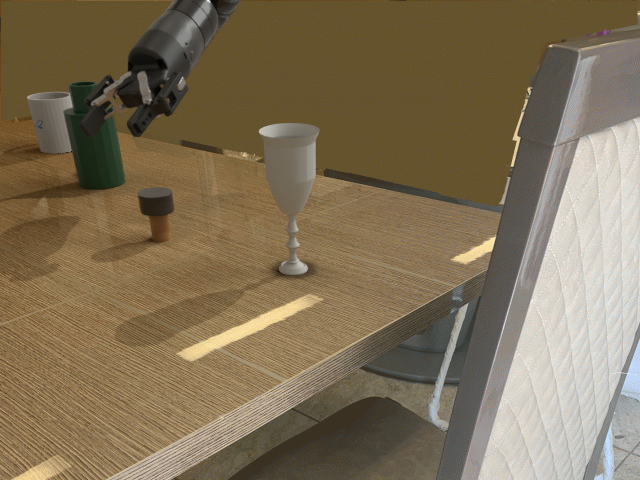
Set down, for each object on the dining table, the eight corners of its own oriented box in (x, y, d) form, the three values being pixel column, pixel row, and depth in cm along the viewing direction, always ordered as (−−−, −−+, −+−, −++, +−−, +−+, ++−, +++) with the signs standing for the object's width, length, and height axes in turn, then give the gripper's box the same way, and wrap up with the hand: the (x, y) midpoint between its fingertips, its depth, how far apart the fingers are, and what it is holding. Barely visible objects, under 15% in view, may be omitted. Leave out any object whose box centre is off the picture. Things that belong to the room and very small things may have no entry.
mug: (83, 151, 133) (72, 98, 127) (39, 155, 131) (26, 101, 125) (81, 137, 143) (70, 87, 137) (40, 141, 140) (27, 90, 134)
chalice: (275, 267, 86) (268, 121, 75) (325, 271, 85) (325, 124, 74) (260, 291, 80) (250, 136, 69) (313, 295, 79) (312, 140, 68)
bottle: (75, 189, 113) (52, 88, 103) (85, 176, 119) (64, 80, 109) (121, 188, 113) (102, 87, 104) (128, 175, 120) (111, 79, 110)
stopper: (144, 256, 89) (134, 198, 84) (149, 243, 92) (140, 187, 88) (178, 255, 89) (170, 197, 84) (181, 243, 93) (173, 186, 88)
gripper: (115, 31, 90) (52, 107, 84) (194, 23, 83) (132, 104, 77) (143, 81, 96) (86, 155, 90) (219, 77, 90) (164, 156, 83)
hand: (108, 131), depth 84 cm, fingers open, 8 cm apart
